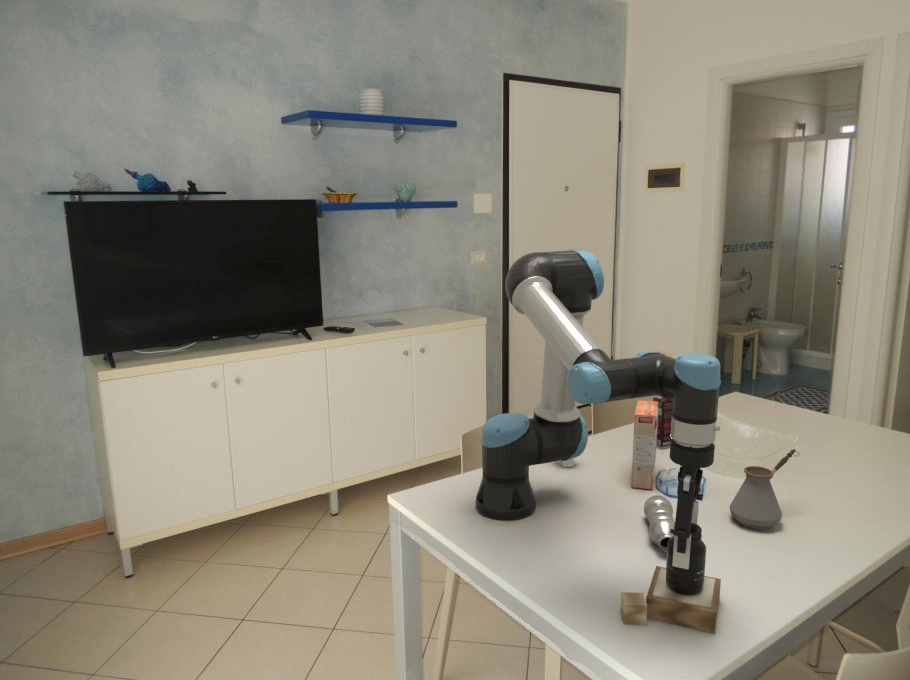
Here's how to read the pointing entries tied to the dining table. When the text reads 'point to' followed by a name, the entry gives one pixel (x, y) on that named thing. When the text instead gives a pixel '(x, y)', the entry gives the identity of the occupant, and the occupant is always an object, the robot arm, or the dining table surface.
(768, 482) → the coffee pot
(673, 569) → the supplement bottle
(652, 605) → the base
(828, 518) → the dining table surface
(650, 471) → the cracker box
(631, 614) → the beech cube
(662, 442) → the supplement box
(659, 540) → the plastic bottle
